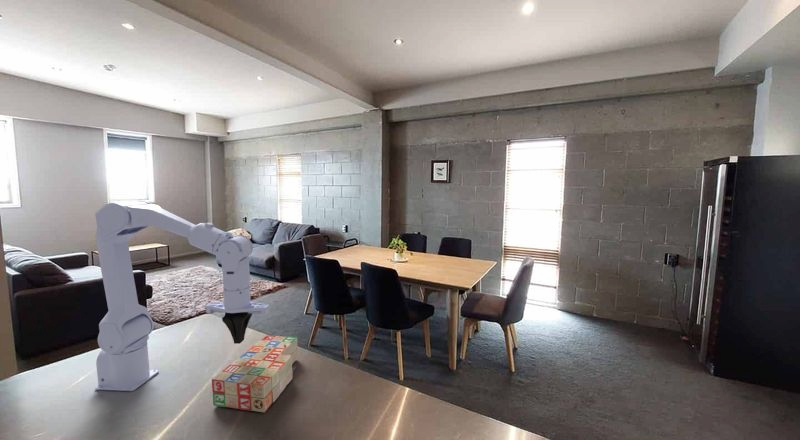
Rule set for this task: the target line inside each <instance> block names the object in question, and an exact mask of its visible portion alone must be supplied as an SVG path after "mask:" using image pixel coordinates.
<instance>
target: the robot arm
mask: <svg viewBox="0 0 800 440" xmlns="http://www.w3.org/2000/svg"><path fill="white" fill-rule="evenodd" d="M94 215H95V221H96V226H97V227H96V231H95V243H96V249H97V254H98V261H99V265H100V272H101V277H102V282H103V287H104V292H105V299H106V303H107V309H108V311H107V313H106V314H105V315H104V317H103V318H102V319H101V320H100V322H99V324H98V330H99V333H98V335H97V343H98V344H97V345H98V346H99V348H100V349H101V351H100V352H99V354H98V355H97V358H96V372H97V374H96V375H97V384H98V385H96V386H95V387H94V390H96V391H97V390H99V391H118V392H119V391H120V392H121V391H124V392H126V391H127V392H133V391H135V390H137V389H138V388H139V387H140V386H142V385H144V383H146V382H148V381H149V380H150V379H151V378H153V377H154V376H156V375H157V374H158V373H159V372H160V371H159V369H150V360H149V347H148V340H150V337H149V336H150V334H151V333H152V332H153V330H154V326H155V324H154V321H153V319H152V317H151V316H150V314H149V311H148V308H147V307H146V306H144V305H141V304H139V300H138V299H139V298H138V293H137V288H136V282H135V277H134V275H135V274H134V271H133V270H134V269H133V264H132V258H131V253H130V249H129V248H130V246H129V241H130V240H131V239H132V238H133V237H134V236H135V235H136V234H137V233H138V232H140V231H142V230H144V229H147V228H149V227H151V226H153V227H155V228H159V229H162V230H165V231H168V232H170V233H173V234H176V235H179V236H182V237H185V238H187V241H188V244H189V245H190V246H193V247H195V248H198V249H200V250H202V251H204V252H207V253H210V254H212V255H214V256H216V258H217V260H218V261H219V262H220V264H221V270H222V290H223V291H222V292H223V293H222V294H223V301H220V302H209V303H208V304H206V305H205V313H206V314H211V313H223V314H224V316H222V319H221V320H222V322H223V323H224V324H225V326H226V328H228V330H229V333H230V334H231V337H232V341H233V343H234V344H239V345H240V344H241V343H242V342H244V340H245V337H246V336H245V335H246V331H247V327H248V325H249V323H250V320H251V318H252V316H253V315H261V316H266V315H268V314H269V313H270V304H267V303H260V302H255V301H251V279H250V278H251V276H250V275H251V273H250V270H251V269H250V256H251V254H252V253H253V250H254V247H253V245H254V244H253V243H252V241H251V240H250V239H249V238H248V237H247V236H245V235H244V234H237V235H233V232H231V231H224V230H221V228H220V229H219V228H217V227H215V224H214V223H212V222H200V223H198V224H197V223H196V224H194V223H193V222H190V221H188V220H186V219H184V218H182V217H180V216H178V215H177V214H174V213H172V212H170V211H168V210H166V209H164V208H162V207H161V206H160V205H158V204H154V203H151V202H149V201H147V200H139V201H131V202H129V201H128V202H108V203H106V204H105V205H103V206H102V207H101V208H100V209H99V210H98V211H96V212H95V214H94Z"/></svg>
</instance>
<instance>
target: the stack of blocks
mask: <svg viewBox="0 0 800 440" xmlns="http://www.w3.org/2000/svg"><path fill="white" fill-rule="evenodd" d="M298 349H299V348H298V337H297V336H281V335H265V336H264V337H263V338H262V339H261V340H258V342H256V343H255V344H254V345H253V346H252V347H250V348H249V349H248V350H246V352H244V353H243V354H242V355H241V356H239V357H238V358H237V359H235V360H234V361H233V362H231V364H229V365H228V366H227V367H225V368H224V369H223V370H221V371H220V372H219V373H217V374H216V375H215V376H214V377H212V378H211V387H212V389H211V390H212V391H211V393H212V404H213V406H214V407H215V406H216V407H220V408H231V409H239V410H241V411H243V410H244V411H249V412H251V411H252V412H259V413H266V411H267V410H268V409H269V407H271V405H272V404H273V403H275V401H276V400H277V399H278V398H279V396H280V395H281V394H282V393H283V391H285V389H286V387H287V385H288V384H290V382H291V381H292V380H293V373H292V367H293V364H294V363H295V362H296V361H297V359H298V358H299V351H298Z"/></svg>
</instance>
